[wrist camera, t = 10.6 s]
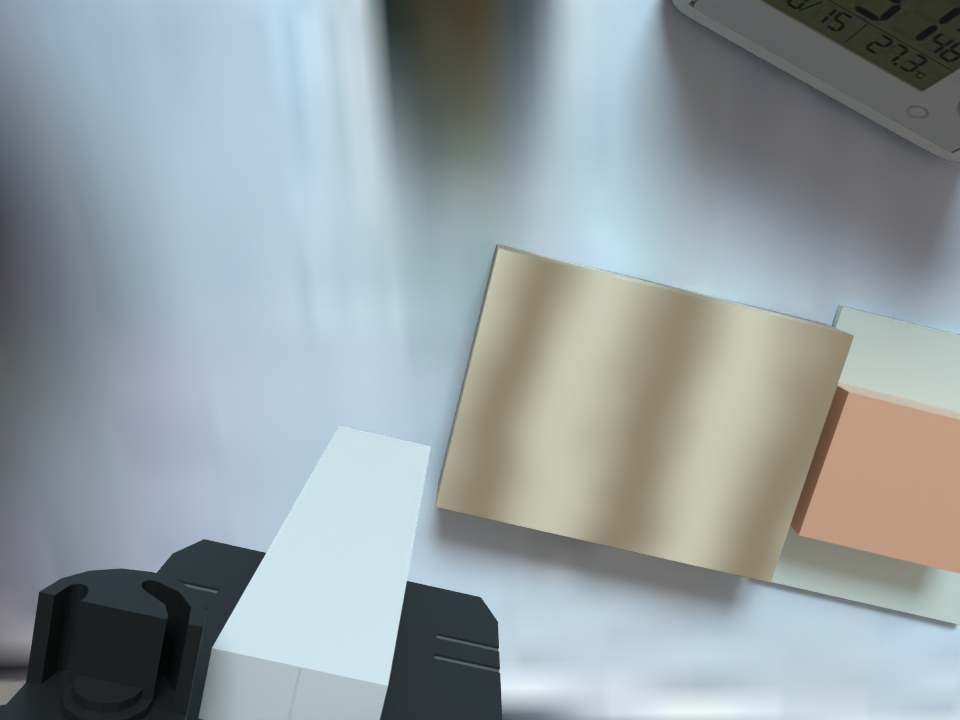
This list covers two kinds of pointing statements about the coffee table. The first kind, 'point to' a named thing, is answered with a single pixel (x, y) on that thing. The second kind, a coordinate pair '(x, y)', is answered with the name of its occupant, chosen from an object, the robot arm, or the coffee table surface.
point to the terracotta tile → (885, 479)
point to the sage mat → (910, 375)
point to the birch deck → (638, 414)
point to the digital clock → (859, 56)
